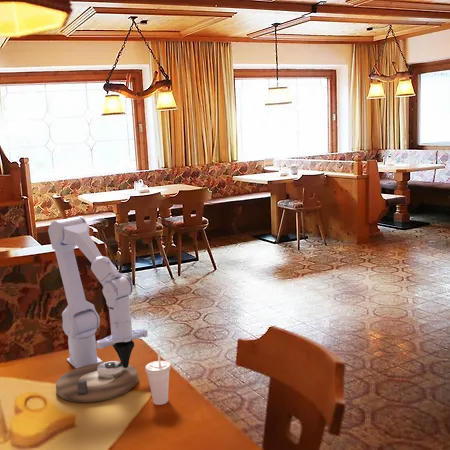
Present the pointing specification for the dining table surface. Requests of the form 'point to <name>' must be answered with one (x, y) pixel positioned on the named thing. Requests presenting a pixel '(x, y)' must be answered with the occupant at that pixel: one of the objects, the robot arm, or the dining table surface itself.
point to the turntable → (94, 384)
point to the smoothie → (158, 380)
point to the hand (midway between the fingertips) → (125, 366)
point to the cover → (110, 370)
